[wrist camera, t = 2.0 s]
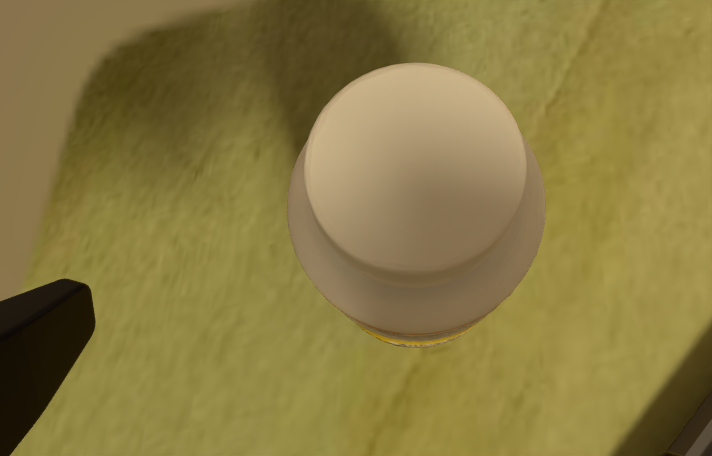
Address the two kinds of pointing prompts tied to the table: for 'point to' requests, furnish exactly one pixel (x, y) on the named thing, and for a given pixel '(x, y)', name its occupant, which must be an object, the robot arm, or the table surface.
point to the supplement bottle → (416, 203)
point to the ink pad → (696, 433)
